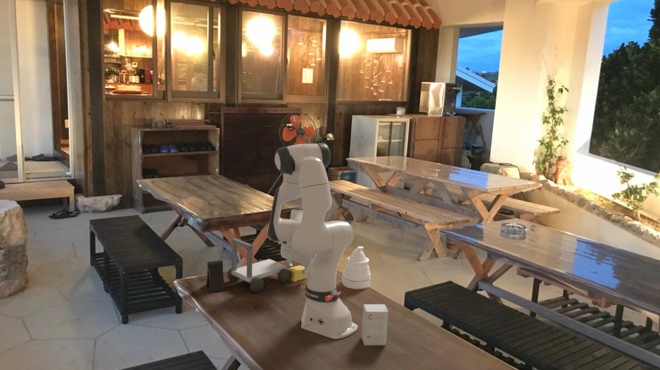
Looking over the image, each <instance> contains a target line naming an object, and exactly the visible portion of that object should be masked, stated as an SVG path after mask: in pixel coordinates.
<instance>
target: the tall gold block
mask: <svg viewBox="0 0 660 370" xmlns="http://www.w3.org/2000/svg"><path fill="white" fill-rule="evenodd" d="M304 269H305V268H304V265H302V264H299V265H296V266H293V267H292V268H288V267H287V270H289V271H290V272H291V274H292V276H291V279H290V281H291V282H293V283H295V282H299V281H302V280H304V279H307V274H306V275H305V274H303V270H304ZM298 280H299V281H298Z"/></svg>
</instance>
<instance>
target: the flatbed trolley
mask: <svg viewBox="0 0 660 370" xmlns="http://www.w3.org/2000/svg"><path fill="white" fill-rule="evenodd" d="M238 246H240V247H243V248H245V249H246V265H243V266H240V267H238ZM237 267H238V268H237ZM287 269H288V265H285V264H283V263H281V262H278V261H276V260H273V259H270V258H268V259H262V258H261V259H259V260H257V261H256V262H255V263H253V244H251V243H248V242H247V241H243V240H241V239H238V238H231V268H229V270H227V274H226V278H227V280H229V281H231V282H234V283H235V282H238V281H239V280H242V281H244V282H247V283H248V284H249V289H250V291H252V292H254V293H255V294H257V293H258V294H259V293H261V292H262V291H263V290H264V288H265V280H264V279H265V278H266V277H270V276H272V275H277V279H278V281H279V282H281V283H283V284H288V283H289V282H290V281H291V280H290V279H291V276H292V274H291V272H290V271H289V270H287ZM263 278H264V279H263Z"/></svg>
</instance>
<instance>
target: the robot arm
mask: <svg viewBox="0 0 660 370" xmlns="http://www.w3.org/2000/svg"><path fill="white" fill-rule="evenodd" d="M331 158H332V157H331V151H330V147H328V145H327V144H326V143H324V142H316V143H298V144H297V143H296V144H293V145H288V146H282V147H280V148H277V150H276V151H275V154H274V163H275V166H276V168H277V170H278V171H279V172H280V173H282V174H283V177H282V182H281V185H279V186H277V188H276V189H275V191H274V196H273V199H272V206H271V212H270V218H269V221H268V225H267V227H266V235H267V237H268V238H269V239H270V240H271V241H272V242H280V243H281V244H280V255H281V258H284V259H286V263H287V269H288V268H292V267H294V264H293V262H295V263H297V264H299V265H301V266H304V268H305V269H304V270H303V274H305V275H306V274H307V278H306V285H305V288H304V289H305V290H304V291H305V292H304V296H305V302H304V307H303V312H302V316H301V318H300V321H301V324H300V325H301V326H300V328H301V329H303V330H306V331H309V332H311V333H315V334H318V335H320V336H323V337H326V338H329V339H332V340H338V339H344V338H346V337H349V336H350V335H352V334H354V333H355V332H356V331H357V330H358V328H359V327H358V324H356V323H355V322H353V321H352V319H353V318H352V314H351V313H352V312H351V311H350V310H349V308H348V306H347V305H345V304H344V302H343V301H342V300H341V299H340V295H341V293H342V291H338V287H337V277H338V276H337V273H338V268H339V264H340V261H341V260H342V259H341V258H342V257H343V254H344V252H345V251H346V250H347V248H349V246H350V245H351V244H352V243H353V240H354V235H355V234H354V230H353V227H352V225H351V224H350V223H349V222H347V221H345V220H331V221H325V219H326V214H327V212H328V211H329V210H330V209H331V207H332V205H333V199H332V194H331V193H332V192H331V188H330V182H329V178H328V175H327V174H328V173H327V171H326V169H327V168H328V167H329V165H330V163H331ZM300 198H301V204H302V207H301V208H300V207H295V208H292V209H291V211H290V218H289V219H286V218H282V217H281V213H282V207H283V205H284V204H285V203H288V202H291V201H293V200H297V199H300Z"/></svg>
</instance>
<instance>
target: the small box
mask: <svg viewBox="0 0 660 370" xmlns="http://www.w3.org/2000/svg"><path fill="white" fill-rule="evenodd" d="M362 308H363V309H362V321H361V323H362V324H361V340H362V343H363V345H364V346H387V337H388V323H389V321H388V320H389V310H388V307H387V306H386V304H385V303H384V304H381V303H380V304H379V303H377V304H374V303H373V304H371V303H370V304H368V303H367V304H366V303H364V304H363V305H362Z"/></svg>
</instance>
